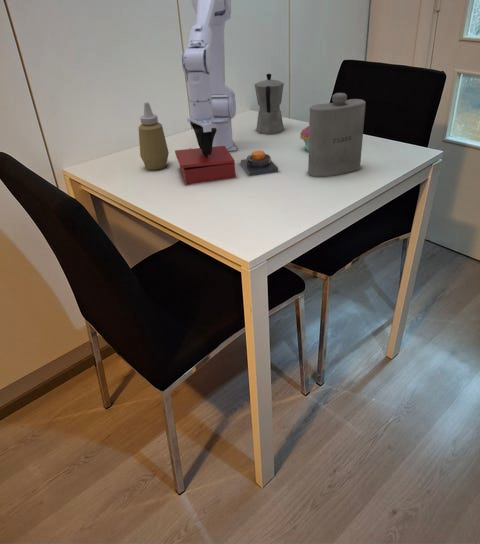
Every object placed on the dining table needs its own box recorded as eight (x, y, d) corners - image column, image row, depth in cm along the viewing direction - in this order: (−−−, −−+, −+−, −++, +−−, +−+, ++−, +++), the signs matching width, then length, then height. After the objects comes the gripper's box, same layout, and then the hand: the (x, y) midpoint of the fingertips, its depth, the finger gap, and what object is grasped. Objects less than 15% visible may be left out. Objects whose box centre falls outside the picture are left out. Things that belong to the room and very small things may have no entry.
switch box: (240, 163, 138) (240, 153, 137) (267, 159, 140) (267, 149, 138) (249, 176, 130) (249, 165, 129) (277, 172, 132) (277, 161, 130)
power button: (250, 157, 135) (250, 151, 134) (263, 155, 135) (262, 149, 134) (253, 161, 132) (253, 155, 131) (266, 160, 132) (266, 153, 132)
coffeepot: (257, 124, 170) (255, 70, 160) (284, 123, 168) (284, 68, 159) (254, 138, 157) (252, 80, 147) (283, 138, 156) (283, 79, 146)
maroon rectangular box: (186, 185, 128) (184, 170, 125) (180, 168, 138) (178, 154, 136) (235, 177, 130) (234, 163, 128) (225, 162, 140) (224, 148, 138)
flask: (314, 179, 126) (317, 100, 115) (305, 172, 130) (306, 95, 120) (365, 169, 129) (372, 92, 119) (354, 162, 134) (360, 87, 123)
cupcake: (330, 153, 141) (332, 112, 135) (301, 155, 142) (301, 113, 135) (326, 144, 148) (328, 104, 142) (298, 145, 149) (299, 105, 142)
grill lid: (181, 168, 125) (179, 152, 123) (175, 153, 135) (173, 138, 133) (234, 163, 128) (234, 147, 125) (224, 148, 138) (224, 133, 136)
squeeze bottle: (165, 172, 136) (155, 106, 126) (138, 171, 138) (126, 106, 128) (174, 161, 143) (165, 99, 133) (148, 161, 144) (138, 99, 135)
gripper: (181, 94, 128) (186, 144, 136) (189, 108, 116) (194, 162, 124) (207, 91, 130) (211, 141, 137) (217, 104, 118) (221, 158, 125)
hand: (205, 151), depth 131 cm, fingers closed on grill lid, 5 cm apart
